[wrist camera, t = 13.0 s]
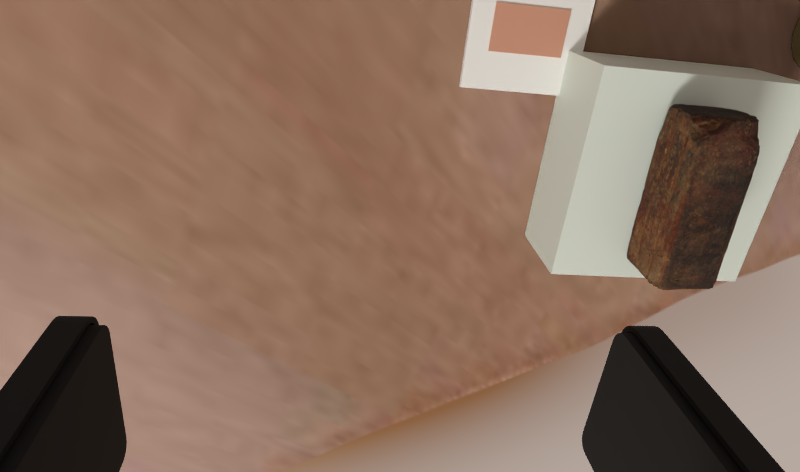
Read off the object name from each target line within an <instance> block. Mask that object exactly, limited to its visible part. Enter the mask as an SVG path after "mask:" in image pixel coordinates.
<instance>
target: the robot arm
mask: <svg viewBox="0 0 800 472" xmlns="http://www.w3.org/2000/svg"><path fill="white" fill-rule="evenodd" d="M126 443H127V441H126V433H125V426H124V420H123V414H122V408H121V401H120V395H119V389H118V382H117V376H116V370H115V363H114V357H113V351H112V344H111V338H110V332H109V329H108V327H107V326H105V325H99V324H98V321H97V319H96V318H95V317H84V316H58V317H56V318H55V319H54V320H53V321H52V322H51V323H50V325H49V326H48V327H47V329H46V330H45V331H44V333H43V334H42V335H41V337H40V338H39V339H38V341H37V342H36V343H35V345H34V346H33V347H32V349H31V350H30V351H29V353H28V354H27V355H26V357H25V358H24V360H23V361H22V362H21V364H20V365H19V366H18V368H17V369H16V370H15V372H14V373H13V374H12V376H11V377H10V378H9V380H8V381H7V382H6V384H5V385H4V386H3V388H2V389H1V390H0V472H119V470H120V468H121V466H122V463H123V460H124V457H125V453H126ZM582 443H583V449H584V452H585V454H586V456H587V458H588V460H589V462H590V464H591V466H592V468H593V470H594V472H785V471H784V470H783V469H782V468H781V467H780V466H779V464H778V463H777V462H776V461H775V460H774V459H773V458H772V457H771V455H770V454H769V453H768V452H767V451H766V449H765V448H764V447H763V446H762V445H761V444H760V443H759V442H758V440H757V439H756V438H755V437H754V436H753V434H752V433H751V432H750V431H749V430H748V429H747V428H746V426H745V425H744V424H743V423H742V422H741V421H740V420H739V418H738V417H737V416H736V415H735V414H734V413H733V411H732V410H731V409H730V408H729V407H728V406H727V404H726V403H725V402H724V401H723V400H722V399H721V398H720V396H719V395H718V394H717V393H716V392H715V391H714V390H713V388H712V387H711V386H710V385H709V384H708V383H707V382H706V380H705V379H704V378H703V377H702V376H701V375H700V374H699V372H698V371H697V370H696V369H695V368H694V366H693V365H692V364H691V363H690V362H689V361H688V360H687V358H686V357H685V356H684V355H683V354H682V353H681V351H680V350H679V349H678V348H677V347H676V346H675V345H674V343H673V342H672V341H671V340H670V339H669V338H668V336H667V335H666V334H665V333H664V332H663V331H662V330H661V329H660V328H658V327H655V326H627V327H625V328H624V329H623V331H622V333H618V334H617V335H616V336H615V337H614V340H613V343H612V345H611V348H610V351H609V355H608V358H607V361H606V364H605V367H604V370H603V373H602V376H601V379H600V382H599V385H598V388H597V391H596V394H595V397H594V401H593V403H592V406H591V409H590V413H589V416H588V419H587V422H586V425H585V428H584V431H583V435H582Z"/></svg>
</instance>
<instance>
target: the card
mask: <svg viewBox="0 0 800 472" xmlns="http://www.w3.org/2000/svg"><path fill="white" fill-rule="evenodd" d="M594 4H595V0H472V3H471V9H470V16H469V23H468V29H467V36H466V43H465V49H464V56H463V63H462V69H461V76H460V83H459V86H460V87H466V88H478V89H489V90H501V91H512V92H523V93H535V94H546V95H558V96H559V92H560V88H561V83H562V79H563V74H564V70H565V66H566V61H567V57H568V52H569V51H577V52H583V50H584V46H585V42H586V37H587V33H588V29H589V25H590V21H591V16H592V12H593V8H594Z"/></svg>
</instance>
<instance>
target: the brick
mask: <svg viewBox="0 0 800 472" xmlns="http://www.w3.org/2000/svg"><path fill="white" fill-rule="evenodd" d="M758 122H759V120H758V119H757V117H756V116H751V115H749V114H748V113H745V112H741V111H738V110H733V109H726V108H721V107H710V106H698V105H685V104H674V105H672V106H671V107H670V108H669V110H668V112H667V115H666V118H665V121H664V124H663V127H662V129H661V131H660V133H659V136H658V138H657V142H656V146H655V149H654V153H653V157H652V160H651V163H650V167H649V171H648V174H647V178H646V182H645V188H644V190H643V193H642V198H641V202H640V205H639V207H638V211H637V214H636V218H635V221H634V226H633V228H632V234H631V238H630V241H629V245H628V250H627V259H628V260H629V261H630V262H631V263H632V264H633V265H634V266H635V267H636V268H637V269H638V270H639V272H640V273H641V274H642V275H643V276H644V277H645V278H646V279H648V282H649V283H651V284H653V286H656V287H658V288H659V289H663V290H673V289H710V288H713V285H714V283H715V282H716V280H717V277H718V274H719V270H720V267H721V264H722V261H723V258H724V256H725V253H726V251H727V249H728V245H729V242H730V239H731V236H732V233H733V231H734V228H735V225H736V222H737V219H738V216H739V213H740V210H741V207H742V204H743V202H744V199H745V196H746V193H747V190H748V187H749V185H750V182H751V179H752V175H753V172H754V169H755V166H756V164H757V159H758V156H759V151H760V146H759V139H758Z"/></svg>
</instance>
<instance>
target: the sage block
mask: <svg viewBox="0 0 800 472" xmlns="http://www.w3.org/2000/svg"><path fill="white" fill-rule="evenodd" d="M674 104H685V105H698V106H710V107H721V108H726V109H733V110H738V111H741V112H745V113H748V114H749V115H751V116H756V117H757V119H758V120H759V122H758V139H759V146H760V151H759V156H758V159H757V164H756V166H755V169H754V172H753V175H752V179H751V182H750V185H749V187H748V190H747V193H746V196H745V199H744V202H743V204H742V207H741V210H740V213H739V216H738V219H737V222H736V225H735V228H734V231H733V233H732V236H731V239H730V242H729V245H728V249H727V251H726V253H725V256H724V258H723V261H722V264H721V267H720V270H719V274H718V277H717V280H716V281H735V280H736V278H737V276H738V273H739V271H740V269H741V266H742V264H743V261H744V259H745V257H746V254H747V252H748V250H749V247H750V245H751V243H752V240H753V238H754V235H755V233H756V231H757V228H758V226H759V224H760V221H761V219H762V217H763V214H764V212H765V210H766V207H767V205H768V202H769V200H770V198H771V195H772V193H773V191H774V188H775V186H776V184H777V181H778V179H779V176H780V174H781V172H782V169H783V167H784V165H785V162H786V160H787V158H788V155H789V153H790V150H791V148H792V146H793V143H794V141H795V139H796V136H797V134H798V132H799V129H800V81H797V80H794V79H790V78H786V77H783V76H779V75H776V74H772V73H768V72H765V71H761V70H757V69H754V68H745V67H735V66H725V65H715V64H705V63H695V62H684V61H674V60H664V59H654V58H644V57H634V56H624V55H614V54H604V53H594V52H584V51H583V52H577V51H569V52H568V57H567V61H566V66H565V70H564V74H563V79H562V83H561V88H560V92H559V96H558V95H556V99H555V104H554V108H553V113H552V117H551V122H550V126H549V130H548V135H547V139H546V144H545V148H544V153H543V157H542V162H541V166H540V170H539V175H538V179H537V184H536V188H535V193H534V197H533V201H532V206H531V210H530V215H529V219H528V224H527V228H526V232H525V236H526V238H527V239H528V241H529V242H530V243H531V245H532V246H533V248H534V249H535V251H536V252H537V254H538V255H539V257H540V258H541V260H542V261H543V263H544V264H545V266H546V267H547V268H548V270H549V271H550V273H551V274H566V275H591V276H616V277H641V278H645V277H644V276H643V275H642V274H641V273H640V272H639V270H638V269H637V268H636V267H635V266H634V265H633V264H632V263H631V262H630V261H629V260H628V259H627V250H628V245H629V241H630V238H631V234H632V228H633V226H634V221H635V218H636V214H637V211H638V207H639V205H640V202H641V198H642V193H643V190H644V188H645V182H646V178H647V174H648V171H649V167H650V163H651V160H652V157H653V153H654V149H655V146H656V142H657V138H658V136H659V133H660V131H661V129H662V127H663V124H664V121H665V118H666V115H667V112H668V110H669V108H670V107H671V106H672V105H674Z"/></svg>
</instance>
